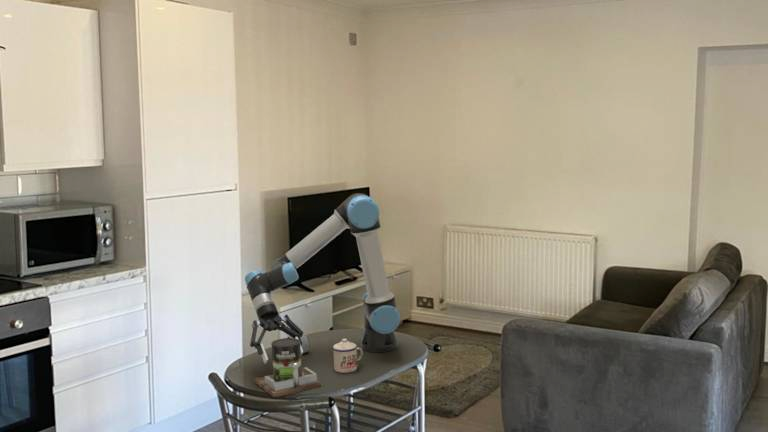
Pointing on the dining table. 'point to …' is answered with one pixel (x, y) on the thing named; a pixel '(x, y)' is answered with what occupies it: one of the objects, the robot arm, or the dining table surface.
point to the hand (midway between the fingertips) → (284, 357)
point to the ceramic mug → (304, 343)
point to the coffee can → (285, 358)
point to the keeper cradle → (292, 380)
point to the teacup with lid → (346, 356)
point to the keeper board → (261, 383)
